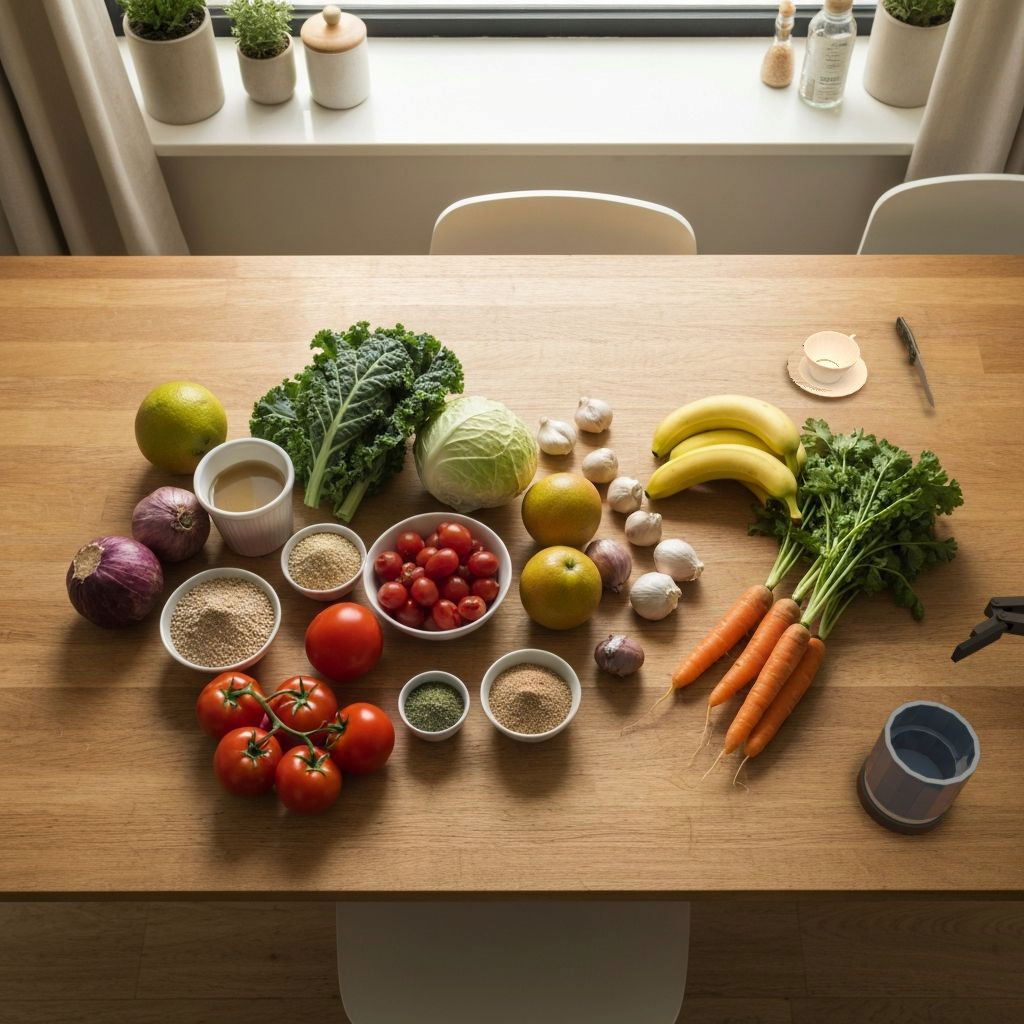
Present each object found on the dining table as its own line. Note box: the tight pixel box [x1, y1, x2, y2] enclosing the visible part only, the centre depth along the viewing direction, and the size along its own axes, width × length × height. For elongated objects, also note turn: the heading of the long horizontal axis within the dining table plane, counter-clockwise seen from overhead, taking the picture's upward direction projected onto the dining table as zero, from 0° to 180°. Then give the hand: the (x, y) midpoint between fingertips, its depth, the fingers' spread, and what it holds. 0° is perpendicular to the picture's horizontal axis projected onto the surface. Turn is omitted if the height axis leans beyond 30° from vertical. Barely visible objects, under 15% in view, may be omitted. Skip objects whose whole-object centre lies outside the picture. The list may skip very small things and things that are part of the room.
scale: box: [856, 755, 952, 836], centre depth 121 cm, size 10×10×3 cm
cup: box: [865, 699, 982, 820], centre depth 116 cm, size 10×10×10 cm
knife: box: [895, 316, 936, 409], centre depth 163 cm, size 20×1×3 cm, turn 1°
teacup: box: [790, 330, 868, 398], centre depth 162 cm, size 12×12×5 cm
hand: (1000, 702), depth 114 cm, fingers open, 13 cm apart
